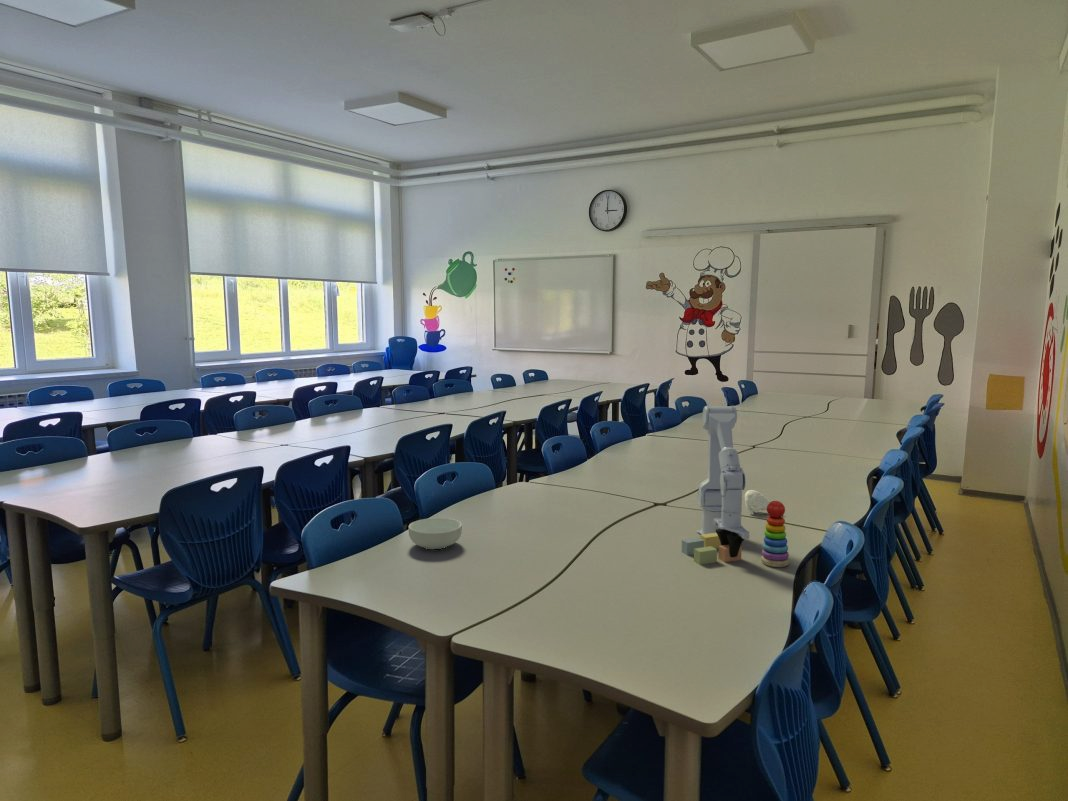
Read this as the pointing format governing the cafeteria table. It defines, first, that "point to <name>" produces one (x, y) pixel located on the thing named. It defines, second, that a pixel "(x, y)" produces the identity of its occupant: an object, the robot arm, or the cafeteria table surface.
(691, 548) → the slate brick
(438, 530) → the cereal bowl
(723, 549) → the terracotta brick
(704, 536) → the mustard brick
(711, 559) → the olive brick
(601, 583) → the cafeteria table surface
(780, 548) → the stacking toy
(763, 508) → the white textured lump
